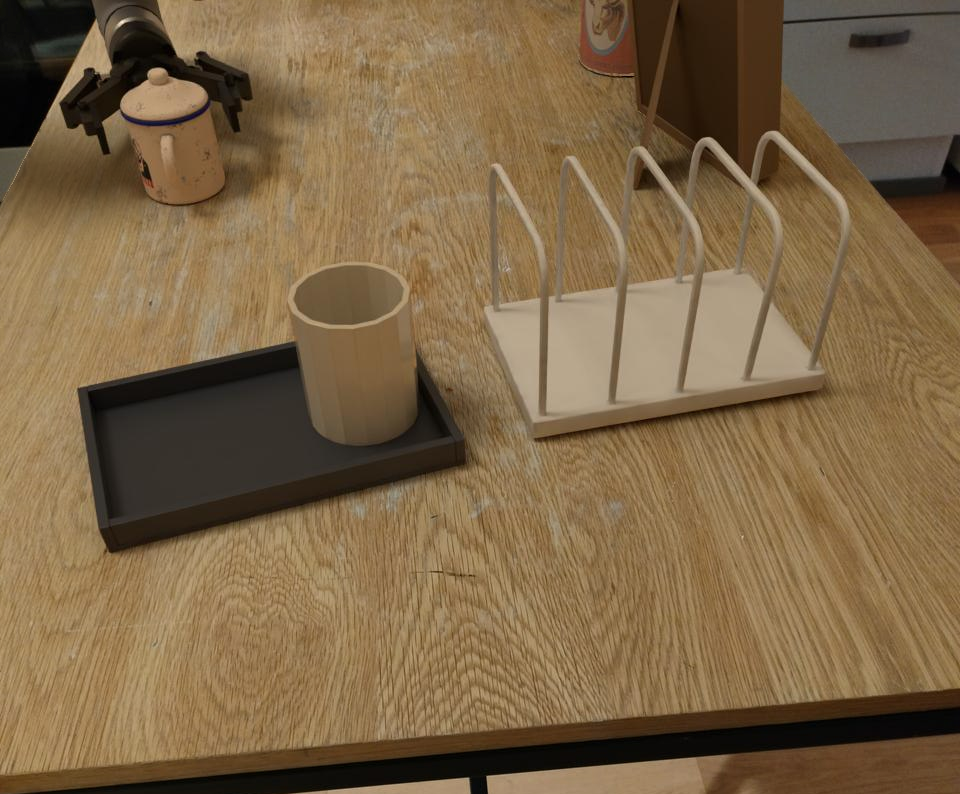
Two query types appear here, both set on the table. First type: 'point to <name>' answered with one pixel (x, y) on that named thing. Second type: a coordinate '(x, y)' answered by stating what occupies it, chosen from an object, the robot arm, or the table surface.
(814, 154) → the table surface
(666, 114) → the photo frame
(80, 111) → the robot arm
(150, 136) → the teacup with lid
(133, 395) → the tray
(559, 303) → the file sorter
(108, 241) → the table surface
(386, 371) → the cream cup
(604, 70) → the canned food
